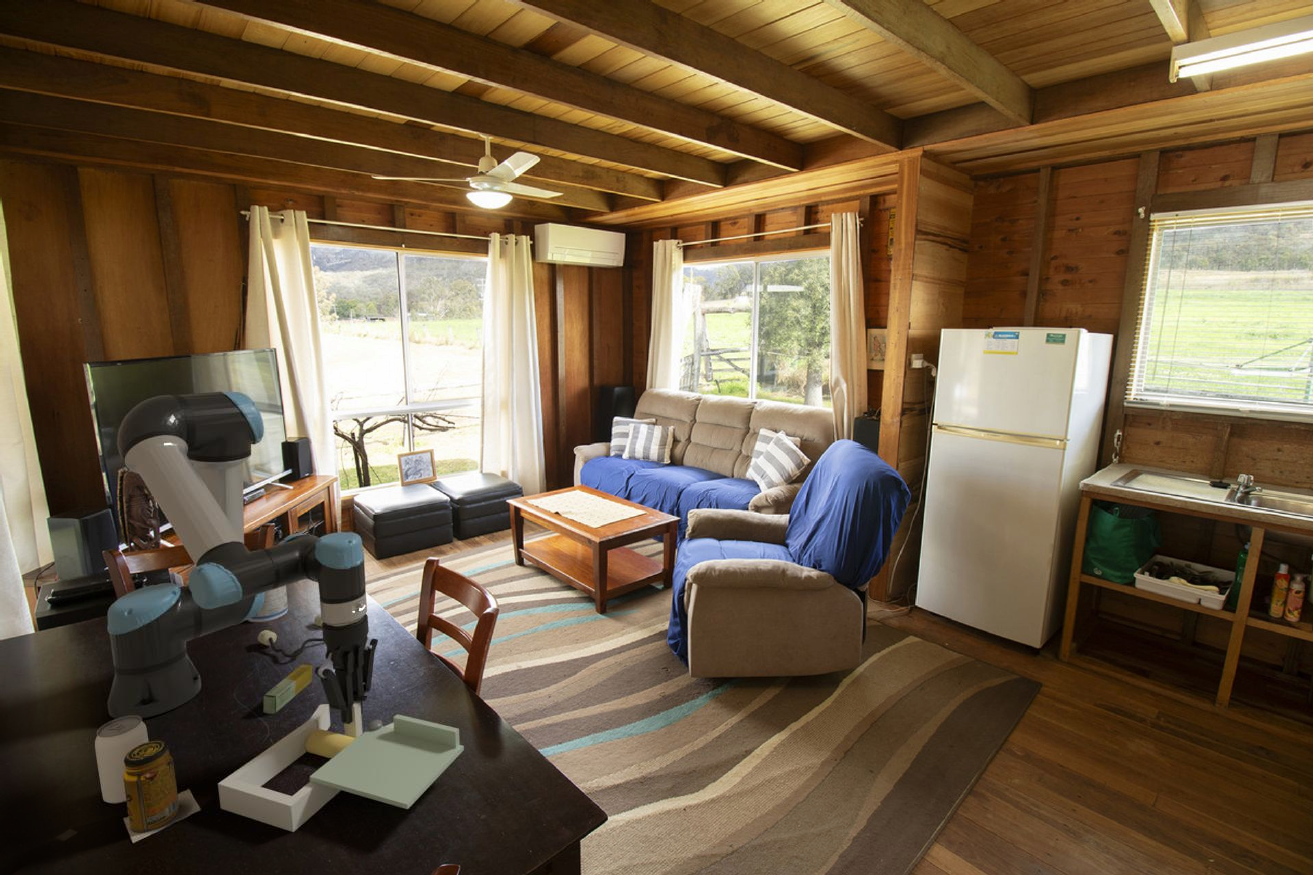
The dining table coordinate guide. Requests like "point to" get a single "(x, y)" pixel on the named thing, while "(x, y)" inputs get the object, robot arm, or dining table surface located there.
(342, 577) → the robot arm
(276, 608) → the supplement tub
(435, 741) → the cover
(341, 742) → the yellow cardboard tube
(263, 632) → the cable
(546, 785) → the dining table surface
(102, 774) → the can
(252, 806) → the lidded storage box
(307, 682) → the medication box
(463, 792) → the dining table surface
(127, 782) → the condiment
